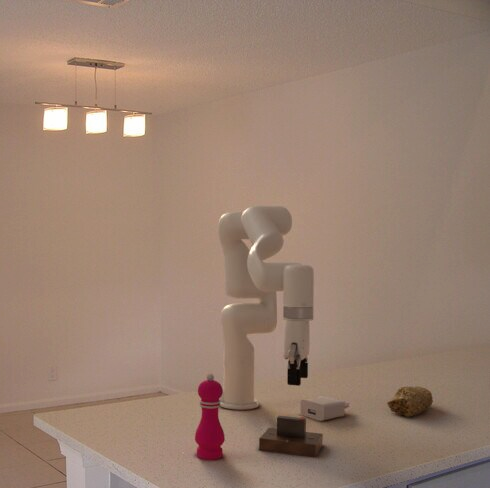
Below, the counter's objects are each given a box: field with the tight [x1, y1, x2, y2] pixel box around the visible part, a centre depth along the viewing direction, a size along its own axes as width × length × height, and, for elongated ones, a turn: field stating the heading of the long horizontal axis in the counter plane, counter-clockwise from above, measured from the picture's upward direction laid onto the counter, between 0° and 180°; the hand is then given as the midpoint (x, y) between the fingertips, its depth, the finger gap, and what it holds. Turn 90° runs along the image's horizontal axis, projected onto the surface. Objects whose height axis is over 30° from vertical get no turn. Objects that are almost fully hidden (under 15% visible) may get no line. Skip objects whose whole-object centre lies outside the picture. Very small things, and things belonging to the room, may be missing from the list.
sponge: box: [386, 386, 434, 417], centre depth 220 cm, size 13×8×20 cm
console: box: [258, 427, 324, 458], centre depth 182 cm, size 14×11×3 cm
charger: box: [299, 395, 350, 422], centre depth 214 cm, size 5×9×15 cm
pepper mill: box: [194, 373, 226, 461], centre depth 176 cm, size 7×7×20 cm
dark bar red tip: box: [276, 415, 307, 438], centre depth 182 cm, size 7×2×5 cm, turn 68°
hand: (297, 381), depth 183 cm, fingers open, 9 cm apart
